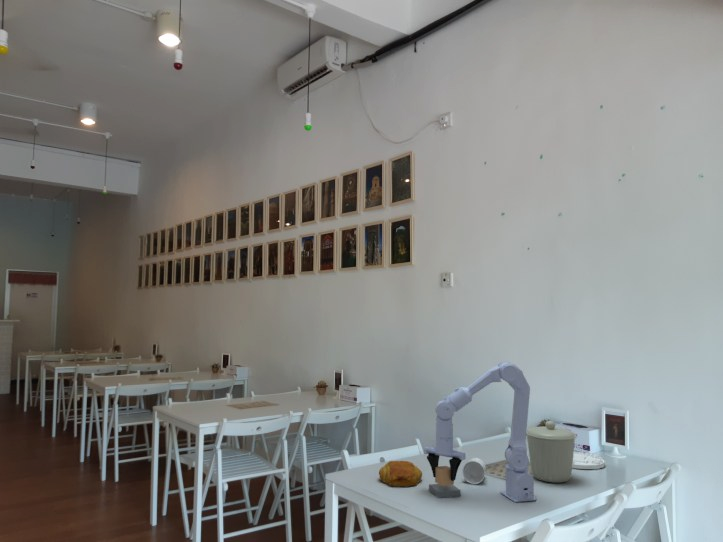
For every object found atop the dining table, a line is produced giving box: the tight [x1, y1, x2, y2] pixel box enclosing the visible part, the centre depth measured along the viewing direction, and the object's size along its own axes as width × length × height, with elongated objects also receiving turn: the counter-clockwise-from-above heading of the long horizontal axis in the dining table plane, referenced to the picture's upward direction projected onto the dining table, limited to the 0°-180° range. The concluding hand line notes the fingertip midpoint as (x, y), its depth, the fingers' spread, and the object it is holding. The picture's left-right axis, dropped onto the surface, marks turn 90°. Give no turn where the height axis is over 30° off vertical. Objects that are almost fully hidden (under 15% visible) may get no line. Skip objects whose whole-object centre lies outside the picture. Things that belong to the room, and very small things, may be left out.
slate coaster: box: [428, 483, 462, 499], centre depth 182 cm, size 8×8×2 cm
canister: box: [526, 420, 577, 484], centre depth 201 cm, size 18×18×21 cm
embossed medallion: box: [572, 451, 606, 471], centre depth 222 cm, size 20×20×3 cm
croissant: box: [378, 460, 423, 487], centre depth 195 cm, size 14×16×8 cm
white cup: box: [461, 457, 487, 485], centre depth 198 cm, size 8×8×10 cm
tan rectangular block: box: [434, 465, 455, 486], centre depth 182 cm, size 4×4×5 cm
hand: (444, 478), depth 182 cm, fingers closed on tan rectangular block, 6 cm apart
